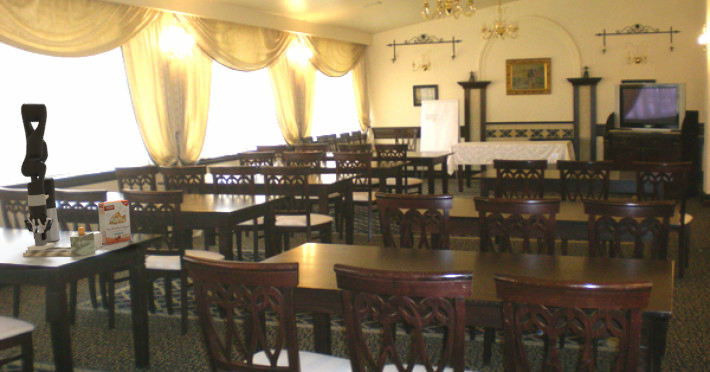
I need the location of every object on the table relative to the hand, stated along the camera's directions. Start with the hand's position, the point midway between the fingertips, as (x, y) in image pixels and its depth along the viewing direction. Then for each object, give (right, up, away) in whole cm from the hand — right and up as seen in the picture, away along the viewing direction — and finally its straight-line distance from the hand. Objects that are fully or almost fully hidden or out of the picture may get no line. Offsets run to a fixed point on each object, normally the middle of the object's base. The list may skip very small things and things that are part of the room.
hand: (40, 240), depth 302 cm
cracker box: (+27, -3, +24) cm, 36 cm away
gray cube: (0, -4, 0) cm, 4 cm away
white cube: (+20, -5, +14) cm, 25 cm away
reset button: (+21, +1, -3) cm, 21 cm away
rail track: (+9, -6, 0) cm, 11 cm away
